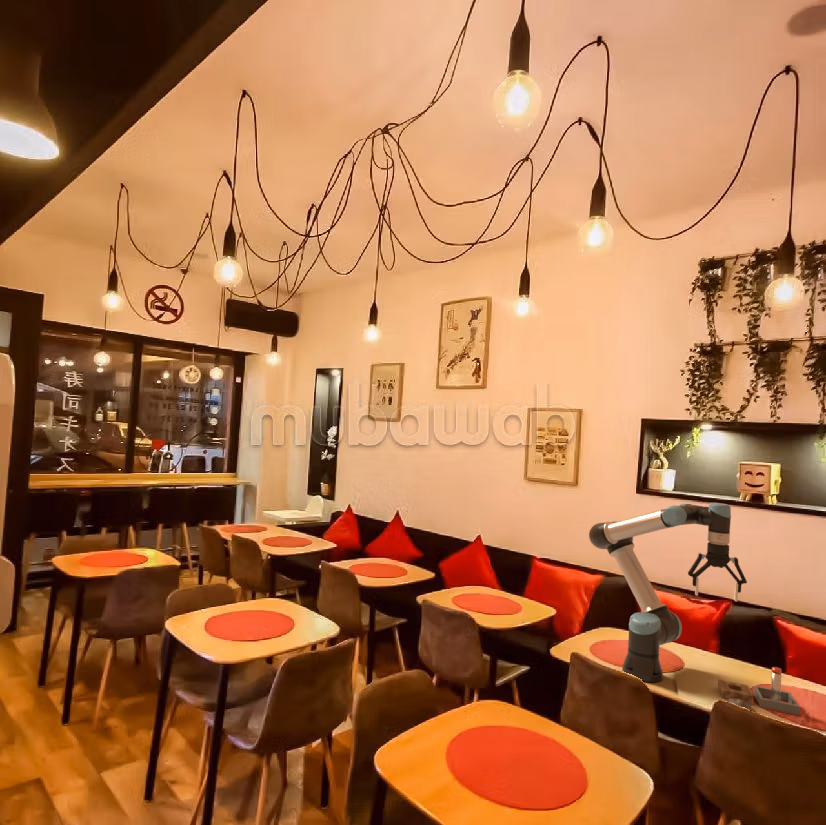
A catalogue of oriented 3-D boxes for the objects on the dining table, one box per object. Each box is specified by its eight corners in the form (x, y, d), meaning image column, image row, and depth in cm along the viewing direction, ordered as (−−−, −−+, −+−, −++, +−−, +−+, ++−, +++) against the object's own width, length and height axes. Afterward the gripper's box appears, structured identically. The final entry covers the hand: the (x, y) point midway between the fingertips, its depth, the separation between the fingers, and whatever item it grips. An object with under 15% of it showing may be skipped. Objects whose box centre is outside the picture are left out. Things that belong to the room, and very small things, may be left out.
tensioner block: (725, 710, 200) (725, 699, 200) (717, 690, 216) (718, 679, 217) (757, 717, 196) (758, 705, 196) (747, 696, 213) (748, 685, 213)
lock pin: (771, 705, 204) (772, 669, 205) (769, 701, 207) (771, 666, 208) (781, 707, 203) (782, 670, 204) (779, 703, 206) (780, 667, 207)
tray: (759, 709, 202) (760, 698, 202) (753, 696, 213) (753, 685, 213) (799, 718, 198) (799, 706, 198) (790, 703, 209) (790, 692, 209)
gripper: (684, 540, 221) (681, 594, 220) (757, 549, 212) (754, 605, 211) (682, 537, 228) (679, 590, 227) (752, 545, 219) (750, 600, 218)
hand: (715, 597), depth 219 cm, fingers open, 13 cm apart
